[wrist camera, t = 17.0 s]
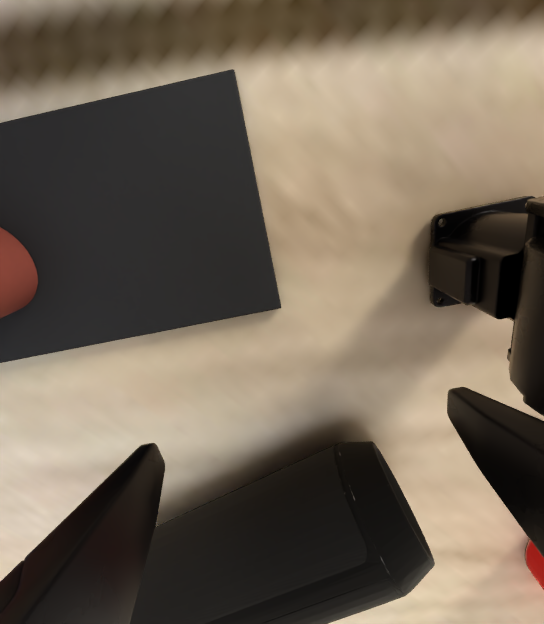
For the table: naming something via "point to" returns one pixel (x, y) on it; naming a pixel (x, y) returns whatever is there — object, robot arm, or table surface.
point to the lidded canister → (15, 275)
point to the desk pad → (134, 216)
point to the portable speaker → (289, 547)
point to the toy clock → (535, 562)
